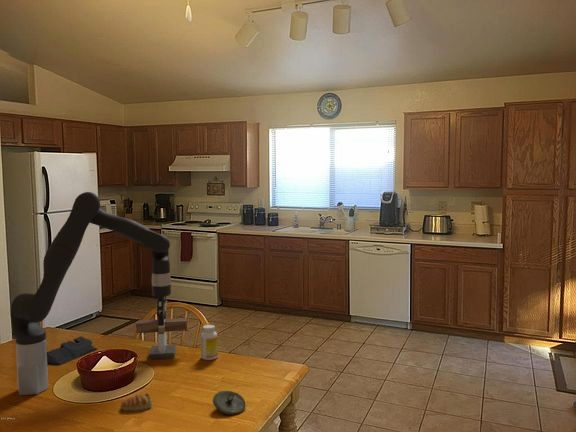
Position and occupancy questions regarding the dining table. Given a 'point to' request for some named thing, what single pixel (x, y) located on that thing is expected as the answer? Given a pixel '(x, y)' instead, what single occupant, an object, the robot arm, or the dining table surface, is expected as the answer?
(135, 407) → the pastry
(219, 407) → the lid
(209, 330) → the supplement bottle
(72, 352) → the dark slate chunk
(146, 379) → the dining table surface
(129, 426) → the dining table surface
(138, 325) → the batten
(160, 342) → the ridge stand
